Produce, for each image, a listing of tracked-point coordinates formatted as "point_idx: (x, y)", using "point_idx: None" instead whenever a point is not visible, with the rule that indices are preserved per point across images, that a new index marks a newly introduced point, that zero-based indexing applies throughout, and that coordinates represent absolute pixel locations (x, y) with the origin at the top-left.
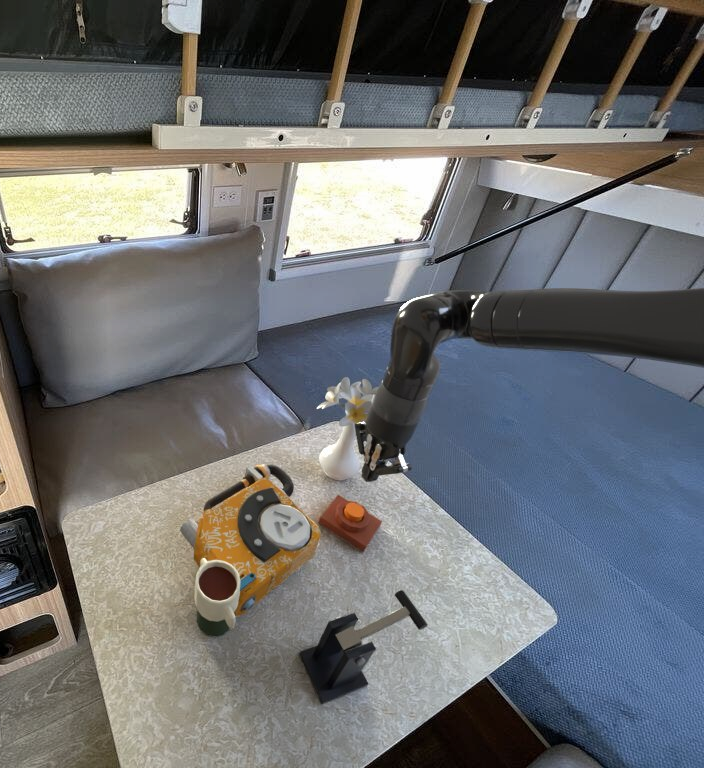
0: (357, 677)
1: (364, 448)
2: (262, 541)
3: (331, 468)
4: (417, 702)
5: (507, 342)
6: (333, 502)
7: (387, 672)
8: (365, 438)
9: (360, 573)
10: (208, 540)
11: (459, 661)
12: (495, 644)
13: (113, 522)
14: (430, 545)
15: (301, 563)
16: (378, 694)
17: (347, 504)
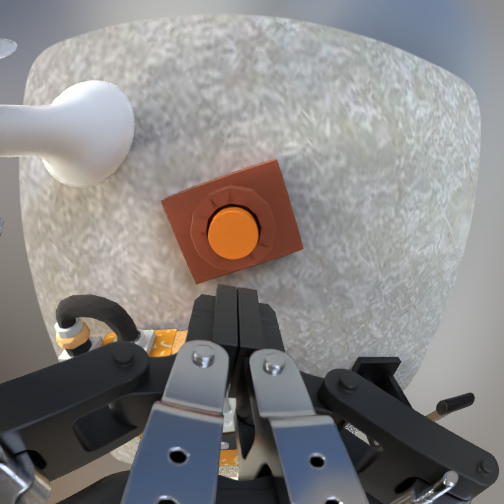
0: (391, 368)
1: (128, 434)
2: (223, 440)
3: (93, 181)
4: (435, 321)
5: None
6: (175, 229)
7: (408, 331)
8: (65, 451)
9: (322, 276)
10: None
11: (454, 248)
12: (469, 188)
13: (121, 447)
14: (356, 103)
15: None
16: (408, 350)
17: (210, 242)
